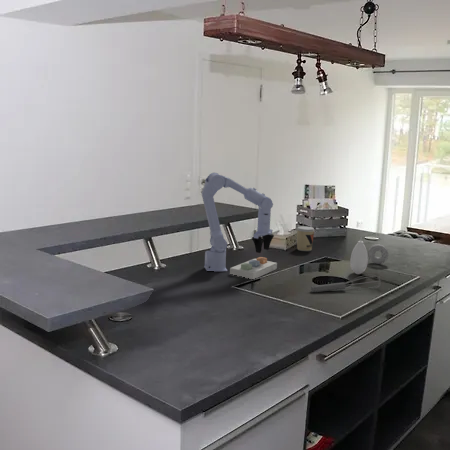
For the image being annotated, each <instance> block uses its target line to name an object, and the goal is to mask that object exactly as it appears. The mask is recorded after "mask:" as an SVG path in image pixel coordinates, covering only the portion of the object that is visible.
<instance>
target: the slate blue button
mask: <svg viewBox="0 0 450 450" xmlns="http://www.w3.org/2000/svg"><path fill="white" fill-rule="evenodd" d="M250 260H251V261H250ZM250 260H248V261H249V264H252V267H258V266H260V261H257V260H252V259H250Z"/></svg>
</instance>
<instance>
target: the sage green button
mask: <svg viewBox="0 0 450 450" xmlns="http://www.w3.org/2000/svg"><path fill="white" fill-rule="evenodd" d="M242 263H243V264H242ZM242 263H240V264H241V269H243V270H251V269H252V264H249V263H244V262H242Z"/></svg>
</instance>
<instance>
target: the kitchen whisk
mask: <svg viewBox="0 0 450 450" xmlns="http://www.w3.org/2000/svg"><path fill="white" fill-rule="evenodd" d="M364 276H366V274H365V275H363V277H364ZM363 277H362V276H358V277H355V278H354V279H351V280H349V281H346V282H344V281H343V282H335V283H327V284H319V285H313V286H312V285H310V286H308V287H307V288H306V290H308V289H309V288H310V291H311V292H310V291H308V293H309V294H310V293H321V292H323V293H324V292H331V291H335V290H336V291H338V290H345V289H351V290H352V289H354V290H357V291H358V290H360V287H353V285H355V286H356V283H352V282H356V281H359V280H362V279H363ZM376 277H377V278H376ZM365 278H366V279H367V278H368V276H366V277H364V279H365ZM369 278H372V279H376V280H377V281H376V280H375V281H373V283H376V282H377V285H374V286H372V287H371V286H369V288H371V289H374V288H376V289H378V288H379V287H380V286H381V284H382V283H381V279H380V277H378V275H369ZM349 283H352V284H350V286H352V287H350V286H347V285H348V284H349ZM370 283H372V281H367V282H365V284H370ZM361 284H364V282H360V283H357V285H361Z"/></svg>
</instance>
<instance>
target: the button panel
mask: <svg viewBox="0 0 450 450" xmlns="http://www.w3.org/2000/svg"><path fill="white" fill-rule="evenodd" d="M251 260H257V258H252V259H249V260H247V261H245V262H242V263H239V264H237V265H235V266H232V267H230V268H229V275H230V274H233V275H232V276H234V275H237V276H236V277H239V276H242V277H241V278H243V277H245V278H244V279H248V278H249V280H252V279H254V280H255V278H256V279H257V278H260V277H262V276H264V275H267V274H268V273H271V272H274V271H276V270H277V268H278V262H273V261H269V260H267V263H265V264H261V263H260V266H258V267H252V269H251V270H243V269H241V264H243V263H249V261H251Z"/></svg>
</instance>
